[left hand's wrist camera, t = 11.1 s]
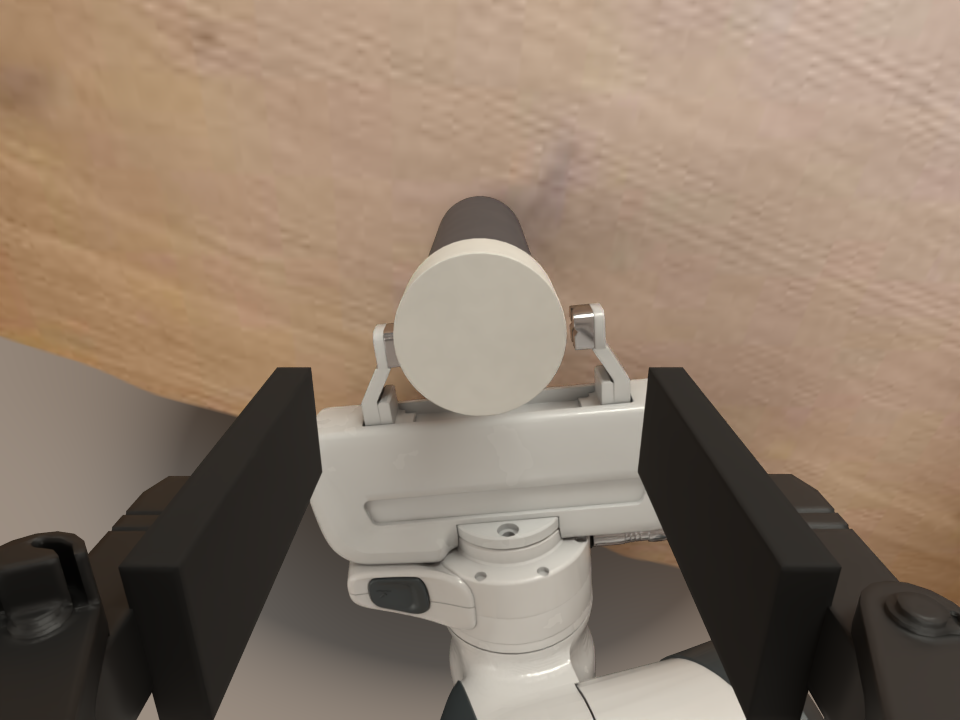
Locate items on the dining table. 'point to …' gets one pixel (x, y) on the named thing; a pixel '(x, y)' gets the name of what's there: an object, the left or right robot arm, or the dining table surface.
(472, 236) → the dark grey bottle
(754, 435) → the dining table surface
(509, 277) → the lid
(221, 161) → the dining table surface
